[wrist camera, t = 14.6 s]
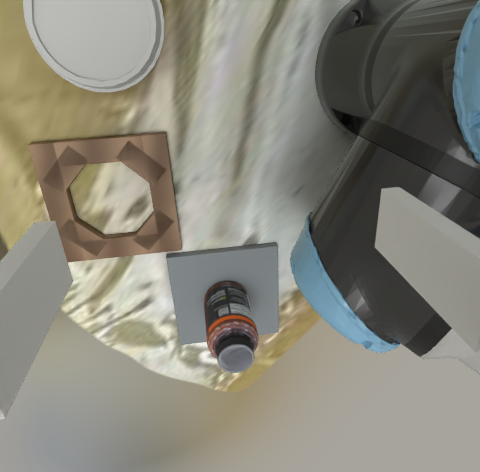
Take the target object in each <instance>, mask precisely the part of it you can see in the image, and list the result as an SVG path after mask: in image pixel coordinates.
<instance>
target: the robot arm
mask: <svg viewBox="0 0 480 472" xmlns="http://www.w3.org/2000/svg"><path fill="white" fill-rule="evenodd" d="M316 87H317V92H318V96H319V100H320V102H321V105H322V107H323V109H324V111H325V112H326V114H327V115H328V117H329V118H330V119H331V120H332V121H333V123H334V124H336V125H337V126H338V127H339V128H341V129H342V130H344V131H345V132H347V133H349V134H351V135H353V136H355V137H357V139H356V140H355V142H354V144H353V145H352V147H351V149H350V150H349V152H348V154H347V155H346V157H345V159H344V160H343V162H342V164H341V165H340V167H339V169H338V170H337V172H336V174H335V176H334V177H333V179H332V181H331V182H330V184H329V186H328V187H327V189H326V191H325V192H324V194H323V196H322V197H321V199H320V201H319V202H318V204H317V206H316V207H315V209H314V211H313V212H310V213H309V215H308V216H307V218H306V221H305V226H304V228H303V230H302V232H301V234H300V236H299V238H298V240H297V242H296V244H295V246H294V247H293V250H292V253H291V259H290V262H291V269H292V273H293V275H294V278H295V281H296V284H297V286H298V288H299V289H300V291H301V293H302V294H303V296H304V297H305V299H306V300H307V301H308V303H309V304H310V305H311V306H312V308H313V309H314V310H315V311H316V312H317V313H318V314H319V315H320V316H321V317H322V318H323V319H324V320H325V321H326V322H327V323H328V324H329V325H330V326H331V327H333V328H334V329H335V330H336V331H337V332H339V333H340V334H341V335H343V336H344V337H346V338H347V339H349V340H350V341H352V342H354V343H356V344H360V343H361V344H362V345H363V346H364V347H365V348H366V349H368V350H371V351H374V352H381V353H382V352H387V351H390V350H391V349H395V348H397V347H398V346H399V345H400V343H401V344H402V345H404V346H406V347H407V348H408V349H410V350H411V351H412V352H414V353H415V354H416V355H418V356H419V357H421V358H422V359H439V358H453V359H458V360H460V361H461V362H463V363H464V364H465V365H467V366H468V367H470V368H471V369H472V370H474V371H475V372H477V373H478V374H479V375H480V0H351V1H350V2H349V3H348V4H347V5H346V6H345V7H344V8H343V9H342V10H341V11H340V12H339V13H338V14H337V15H336V17H335V18H334V20H333V21H332V22H331V24H330V26H329V27H328V29H327V31H326V33H325V35H324V37H323V40H322V42H321V45H320V48H319V52H318V56H317V62H316ZM72 282H73V279H72V276H71V272H70V269H69V266H68V262H67V259H66V256H65V252H64V249H63V246H62V242H61V239H60V236H59V232H58V229H57V225H56V222H55V221H47V222H36V223H34V224H33V225H32V226H31V227H30V228H29V229H28V231H27V232H26V233H25V234H24V235H23V236H22V237H21V238H20V240H19V241H18V242H17V243H16V244H15V245H14V246H13V247H12V249H11V250H10V251H9V252H8V253H7V255H6V256H5V257H4V258H3V259H2V260H1V261H0V419H5V418H6V416H7V414H8V412H9V410H10V408H11V405H12V404H13V401H14V400H15V397H16V395H17V394H18V391H19V389H20V387H21V385H22V383H23V381H24V379H25V377H26V375H27V373H28V371H29V369H30V367H31V365H32V363H33V361H34V359H35V357H36V355H37V353H38V351H39V349H40V347H41V345H42V343H43V341H44V339H45V337H46V335H47V333H48V331H49V329H50V327H51V325H52V323H53V321H54V318H55V316H56V314H57V312H58V310H59V308H60V306H61V304H62V302H63V300H64V298H65V296H66V294H67V292H68V290H69V288H70V286H71V284H72Z"/></svg>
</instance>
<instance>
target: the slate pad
mask: <svg viewBox="0 0 480 472" xmlns="http://www.w3.org/2000/svg"><path fill="white" fill-rule="evenodd" d="M166 259H167V265H168V271H169V277H170V284H171V290H172V296H173V302H174V308H175V314H176V321H177V327H178V333H179V339H180V345H184V344H192V343H200V342H207V336H206V323H205V311H204V299H205V295H206V293H207V292H208V290H209V289H210V288H211V287H213V286H214V285H216V284H218V283H221V282H234V283H237V284H239V285H240V286H242V287H243V288H244V289H245V291H246V292H247V295H248V298H249V301H250V305H251V308H252V313H253V316H254V320H255V324H256V328H257V332H258V335H262V334H270V333H277V332H279V314H278V246H277V243H267V244H258V245H248V246H239V247H230V248H220V249H211V250H202V251H192V252H183V253H174V254H167V257H166Z"/></svg>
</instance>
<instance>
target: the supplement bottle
mask: <svg viewBox="0 0 480 472" xmlns="http://www.w3.org/2000/svg"><path fill="white" fill-rule="evenodd" d="M204 311H205V323H206V336H207V345H208V348H209V351H210V352H211V354H212V355H213V356H214V357H215V358H217V360H218V364H219V366H220V367H221V368H222V369H223V370H225V371H227V372H231V373H237V372H242V371H244V370H246V369H248V368H249V367H250V366H251V365H252V363H253V361H254V351H255V350H256V348H257V345H258V332H257V328H256V324H255V320H254V316H253V313H252V308H251V305H250V301H249V298H248V295H247V292H246V291H245V289H244V288H243V287H242V286H240V285H239V284H237V283H234V282H221V283H218V284H216V285H214V286H213V287H211V288H210V289H209V290H208V292H207V293H206V295H205V299H204Z"/></svg>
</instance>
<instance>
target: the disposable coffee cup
mask: <svg viewBox="0 0 480 472" xmlns="http://www.w3.org/2000/svg"><path fill="white" fill-rule="evenodd" d="M23 6H24V16H25V21H26V25H27V28H28V32H29V35H30V37H31V39H32V41H33V43H34V45H35V47H36V49H37V51H38V52H39V54H40V55H41V56H42V58H43V59H44V60H45V62H46V63H47V64H48V65H49V66H50V67H51V68H52V69H53V70H54V71H55V72H56V73H57V74H59V75H60V76H61V77H63V78H64V79H65V80H67V81H69V82H71V83H72V84H74V85H76V86H78V87H81V88H84V89H86V90H90V91H96V92H115V91H121V90H124V89H126V88H129V87H131V86H133V85H135V84H137V83H138V82H139V81H141V80H142V79H143V78H144V77H145V76H147V74H148V73H149V72H150V71H151V70H152V68H153V67H154V65H155V63H156V61H157V59H158V57H159V55H160V52H161V48H162V44H163V40H164V17H163V11H162V6H161V2H160V0H23Z"/></svg>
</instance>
